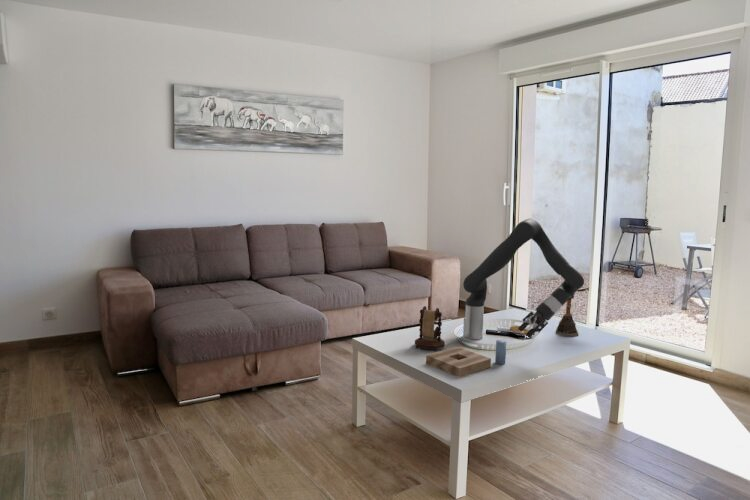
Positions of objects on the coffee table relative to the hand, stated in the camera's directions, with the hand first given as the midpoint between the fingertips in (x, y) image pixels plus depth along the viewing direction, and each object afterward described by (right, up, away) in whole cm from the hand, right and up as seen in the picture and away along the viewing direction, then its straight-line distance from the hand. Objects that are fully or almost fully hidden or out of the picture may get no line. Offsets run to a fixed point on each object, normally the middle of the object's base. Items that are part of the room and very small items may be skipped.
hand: (523, 333), depth 234 cm
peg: (-10, -13, 0) cm, 17 cm away
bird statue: (+39, -8, +46) cm, 61 cm away
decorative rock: (+11, -8, +44) cm, 46 cm away
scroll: (-40, -10, +21) cm, 46 cm away
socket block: (-30, -14, -4) cm, 33 cm away
